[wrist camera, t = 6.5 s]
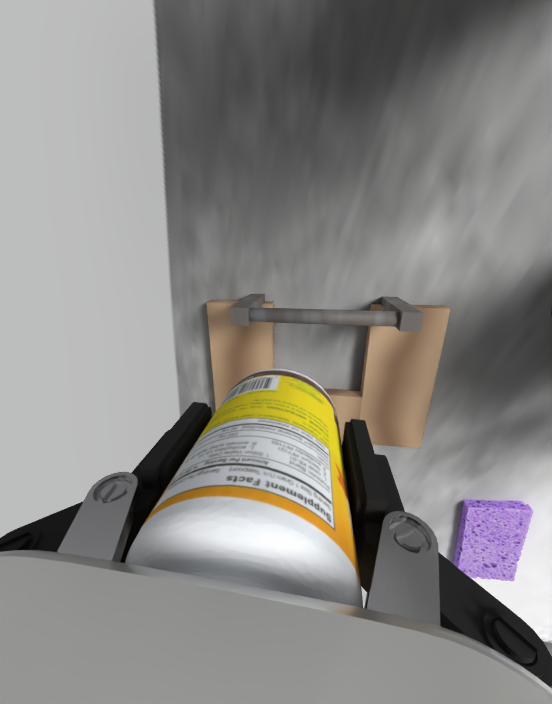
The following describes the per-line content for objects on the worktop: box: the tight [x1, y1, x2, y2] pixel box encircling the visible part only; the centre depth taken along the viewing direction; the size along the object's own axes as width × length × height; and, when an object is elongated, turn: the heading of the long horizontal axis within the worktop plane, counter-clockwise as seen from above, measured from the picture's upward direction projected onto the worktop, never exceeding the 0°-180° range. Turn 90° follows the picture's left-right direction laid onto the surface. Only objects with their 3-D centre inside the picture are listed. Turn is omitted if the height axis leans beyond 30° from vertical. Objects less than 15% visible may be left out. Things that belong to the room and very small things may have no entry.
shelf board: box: [206, 294, 451, 448], centre depth 28 cm, size 24×17×8 cm
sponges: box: [453, 500, 533, 581], centre depth 36 cm, size 7×13×2 cm, turn 6°
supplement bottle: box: [125, 369, 363, 608], centre depth 9 cm, size 6×6×10 cm
